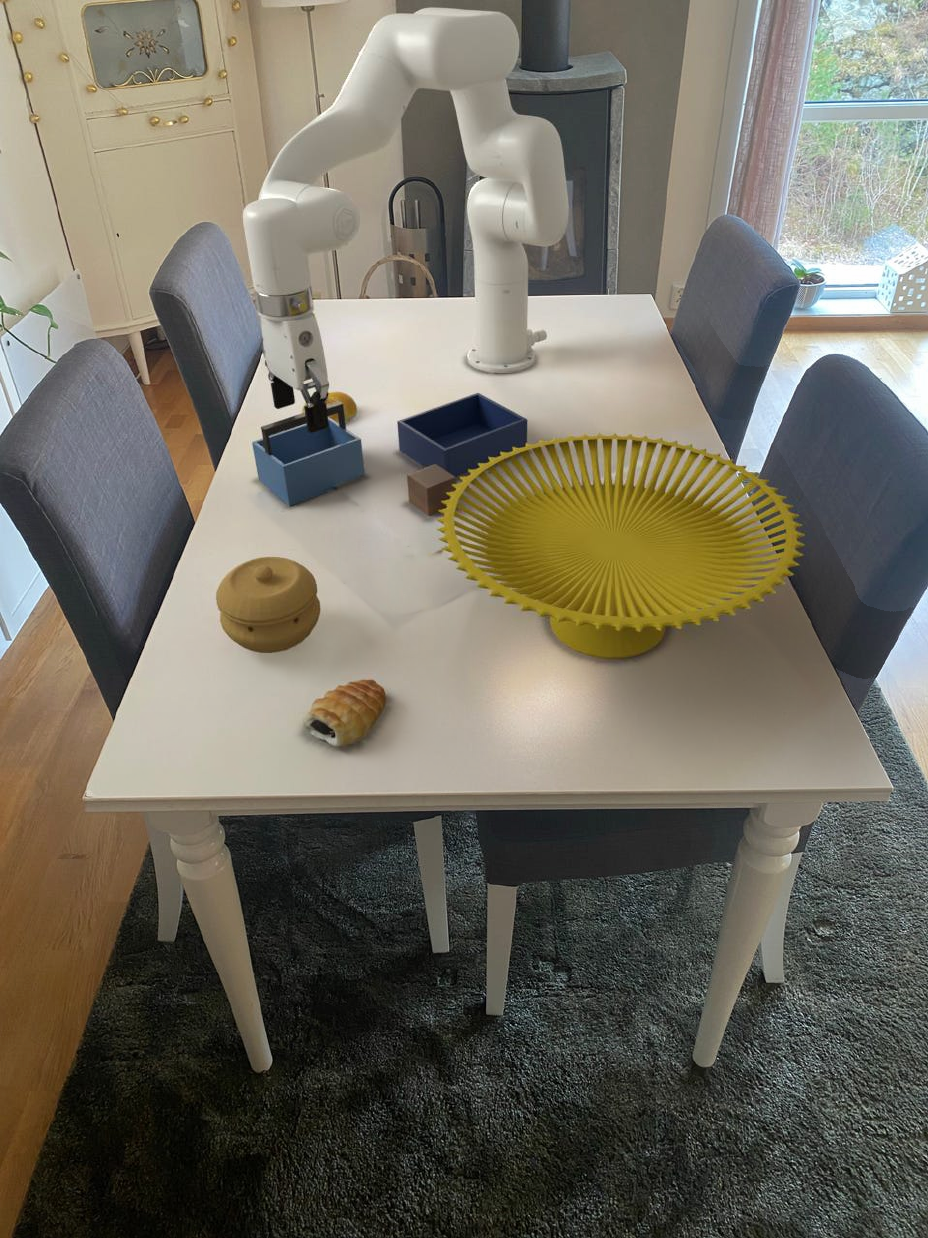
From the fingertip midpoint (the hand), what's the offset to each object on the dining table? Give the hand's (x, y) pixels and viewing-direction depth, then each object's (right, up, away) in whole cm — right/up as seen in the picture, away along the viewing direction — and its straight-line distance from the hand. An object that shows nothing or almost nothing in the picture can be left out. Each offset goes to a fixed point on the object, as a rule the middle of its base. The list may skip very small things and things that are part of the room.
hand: (301, 417), depth 137 cm
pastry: (+11, -40, -35) cm, 54 cm away
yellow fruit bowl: (+41, -30, -22) cm, 55 cm away
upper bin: (0, -8, +7) cm, 10 cm away
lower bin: (+23, -3, +12) cm, 26 cm away
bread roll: (+1, +5, +23) cm, 23 cm away
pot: (+1, -31, -23) cm, 39 cm away
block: (+19, -13, 0) cm, 23 cm away
